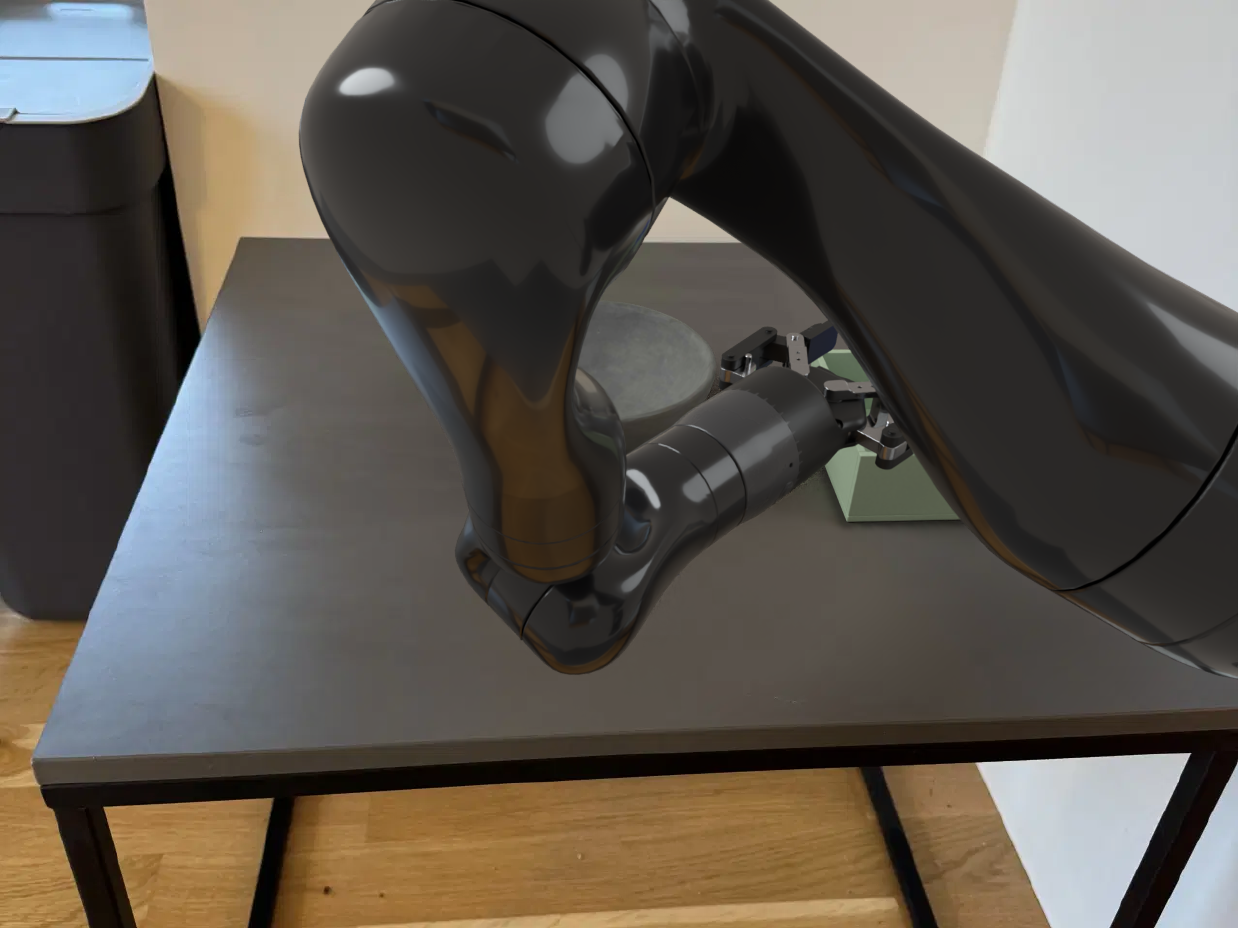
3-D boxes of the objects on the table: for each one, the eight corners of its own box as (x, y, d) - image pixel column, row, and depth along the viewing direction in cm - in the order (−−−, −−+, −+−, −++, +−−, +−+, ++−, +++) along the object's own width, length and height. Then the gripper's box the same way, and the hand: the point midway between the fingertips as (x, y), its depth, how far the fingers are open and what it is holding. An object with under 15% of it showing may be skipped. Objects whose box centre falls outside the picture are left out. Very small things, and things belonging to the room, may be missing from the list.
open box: (1038, 518, 91) (1061, 453, 87) (846, 522, 89) (860, 456, 85) (971, 409, 104) (988, 348, 100) (803, 411, 102) (813, 349, 98)
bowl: (525, 529, 87) (524, 446, 82) (434, 397, 101) (429, 320, 97) (751, 464, 95) (762, 386, 90) (637, 351, 110) (641, 278, 105)
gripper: (854, 446, 62) (990, 345, 71) (660, 352, 69) (808, 272, 79) (833, 549, 66) (964, 440, 76) (653, 449, 73) (793, 362, 83)
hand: (884, 354), depth 77 cm, fingers open, 8 cm apart
